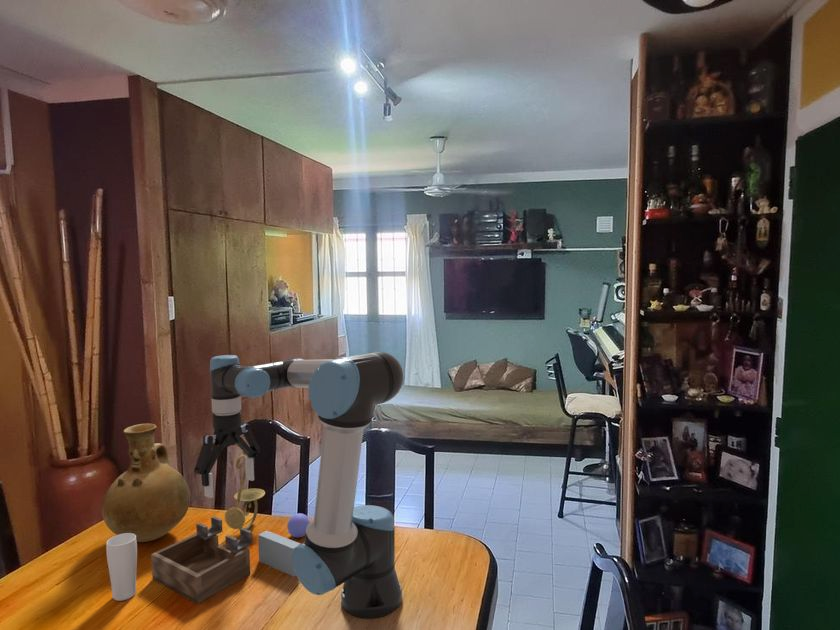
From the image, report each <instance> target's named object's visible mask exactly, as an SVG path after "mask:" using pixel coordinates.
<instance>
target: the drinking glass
mask: <svg viewBox="0 0 840 630" xmlns="http://www.w3.org/2000/svg"><path fill="white" fill-rule="evenodd" d="M105 547H106V548H105V549H106V551H105V552H106V553H105V554H106V562H107V567H108V575H109V580H110V586H111V595H112V599H113V600H114V601H117V602H118V601H119V602H122V601H126V600H129V599H131V598H132V597H134V596H135V594H136V592H137V567H138V566H137V564H138V543H137V540H136V535H135V534H132V533H123V534H119V535H116V534H115V535H114V536H113V535H112V537H110V538H109V539H107V540H106V545H105Z"/></svg>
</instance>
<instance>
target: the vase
mask: <svg viewBox="0 0 840 630" xmlns="http://www.w3.org/2000/svg"><path fill="white" fill-rule="evenodd" d="M156 430H157V425H156V424H154V423H140V424H134V425H132V426H127V427H126V428H125V429H124V430H123V434H124V435H125V437H126V438H127V442H128V447H129V449H128V450H127V451H126V452H127V453H126V454H127V456H128V457H129V459H130V461H129V466H128V468H127V470H126V471H124V472H123V473H121V474H120V475H119V476H118V477H117V478H116V479H115V480H114V481H113V482H112V484H111V485H110V487H109V488H108V489H107V492H106V494H105V496H104V499H103V502H102V508H101V514H102V518H103V519H102V520H103V521H104V523H105V525H106V527H107V529H109V530H110V531H111V532H112V533H113V534H115V536H116V535H119V534H123V533H132V534H135V535H136V540H137V542H140V543H144V542H146V543H147V542H151V541H155V540H157V539H159V538H162V537H164V536H165V535H166V534H168V533H169V532H171V531H172V530H173V529H174V528H175V527H176V526H178V525H179V523H180V522H181V521H182V520H183V519H184V517H185V516H186V514H187V513H188V510H189V509H190V508H189V506H190V504H191V503H190V502H191V491H190V489H189V486H188V483H187V481H186V479H185V477H184V476H183V475H182V474H181V473H180V472H179V471H178V470H177V469H175V468H174V467H172V466H170V465H169V464H170V463H169V462H170V461H169V453H168V452H169V451H168V449H167V446H165V445H164V443H155V433H156Z"/></svg>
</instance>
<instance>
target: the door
mask: <svg viewBox="0 0 840 630" xmlns="http://www.w3.org/2000/svg"><path fill="white" fill-rule="evenodd" d="M257 538H258V543H257V544H258V546H257V547H258V562H260V563H261V564H264V565H266V566H269V567H270V568H273V569H275V570H278V571H280V572H282V573H285V574H286V575H289V576H291V577H294V578H295V576H296V577H297V575H296V573H295V571H294V567H293V563H292V554H293V551H294V549H295V548H296V547H297V546H298V545H299V544H301V543H300V542H297V541H296V540H292V539H289V538H288V537H285V536H282V535H279V534H277V533H274V532H272V531H269V530H265V531H262V532H261V533H259V534H257Z"/></svg>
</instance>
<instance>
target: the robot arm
mask: <svg viewBox="0 0 840 630" xmlns="http://www.w3.org/2000/svg"><path fill="white" fill-rule="evenodd" d="M209 361H210V362H209V377H210V395H211V413H212V415H211V416H212V417H211V419H212V428H213V430H214V431H213V433H212V434H210V435H208V434H204V435H203V437H202V438H203V439H202V446H201V449H200V451H199V455H198V457H197V460H196V462H195V466H194V468H193V469H194V470H193V472H194V473H195V474H197V475H201V477H200V478H201V485H202V486H203V488H204V497H206V498H209V499H213V498H214V497H215V495H214V478H213V477H214V476H213V473H212V472H211V471H212V469H213V468H214V466H215V464H216V462H217V460H218V458H219V457H220V455H221V453H222V452H223V451H224V450H225V448H226V449H227V448H229V447H230V446H235V445H237V447H239V449H241V450H242V451H243V453H244V454H246V457H245V460H244V469H245V473H246V477H245V480H247V481H251V482H254V481H255V470H254V469H255V467H256V458H258V456H259V454H260V453H261V452H262V450H261V449H262V448H260V445H259V444H258V442H257V440H256V439H257V438H255V436H254V434H253V432H252V428H251V427H252V426H251V424H250V423H249V424H248V423H243V420H242V419H243V418H242V417H243V416H242V412H241V410H242V396H243V397H245V398H254V399H255V398H260V397H262V396H264V395H265V394H267V392H272V391H276V390H282V389H287V388H292V389H293V388H297V389H298V388H299V389H300V388H303V389H308V398H309V399H308V400H310V401H311V403H310V406H311V407H312V410H313V411H314V413H315V414H317V419H318V420H319V422H320V423H321V424H322V425H323V430H322V439H321V440H322V441H321V442H322V443H321V449H320V459H319V460H320V461H319V470H318V479H317V488H316V496H315V507H314V514H313V515H314V516H313V520H310V523H309V524H308V525H307V528H306V535H304V536H305V537H304V542H302V543H300V544H299V545H298V546H297V547H296V548H295V549H294V551H293V554H292V563H293V567H294V571H295V573H296V578H297V579H298V581H299V582H300V584H301V585H302V586H303V588H304V589H305V590H306V591H308V592H310V593H311V594H313V595H316V596H322V595H324V594H327V593H329V592H330V591H334V590H335V589H336V588H338V587H339V586H341V585H342V584H343V586H342V589H341V598H340V599H341V606H342V608H343V610H345V612H347V613H348V614H349V615H352V616H354V617H357V618H363V619H376V618H381V617H384V616H387V615H389V614H391V613H393V612H394V611H396V610H397V609H398V608H399V607H400V605H401V603H402V600H403V590H402V585H401V582H400V581H399V578H398V574H397V571H396V568H395V567H396V566H395V565H396V564H395V558H396V557H395V555H396V553H395V552H396V551H395V548H396V547H395V542H396V539H395V535H396V534H395V532H396V531H395V530H396V526H395V520H394V519H395V517H394V514H393V513H392V512H391V511H390V509H387V508H385V507H383V506H378V505H374V504H373V505H371V504H364V505H361V504H360V505H357V506H355V501H356V494H357V486H358V478H359V476H358V475H359V469H360V468H359V467H360V460H361V454H362V453H361V452H362V444H363V436H364V429H365V428H367V427H368V426H369V425H371V423H372V420H373V413H374V412H373V411H374V406H375V407H376V406H378V405H381V404H383V403H387V402H390V400H392V399H393V398H395V397H396V396H397V395H398V393H399V392H400V390H401V389H402V386H403V383H404V371H403V367H402V365H401V363H400V362H399V360H397V359H396V357H395V356H393V355H392V354H389V353H388V352H384V351H383V352H382V351H373V352H368V353H363V354H362V353H361V354H357V355H352V356H351V355H350V356H341V357H336V358H333V359H330V358H329V359H326V358H325V359H303V358H287V359H285V360H284V359H283V360H280V361H273V362H267V363H261V364H254V365H247V366H246V365H241V363H240V359H239V357H238V356H237V355H234V354H224V355H216V356H213V357H211V358H210V360H209ZM241 434H242V435H243V437H244V439H245V440H246V442H245V440H244V439H243V438H242V436H241Z"/></svg>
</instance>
